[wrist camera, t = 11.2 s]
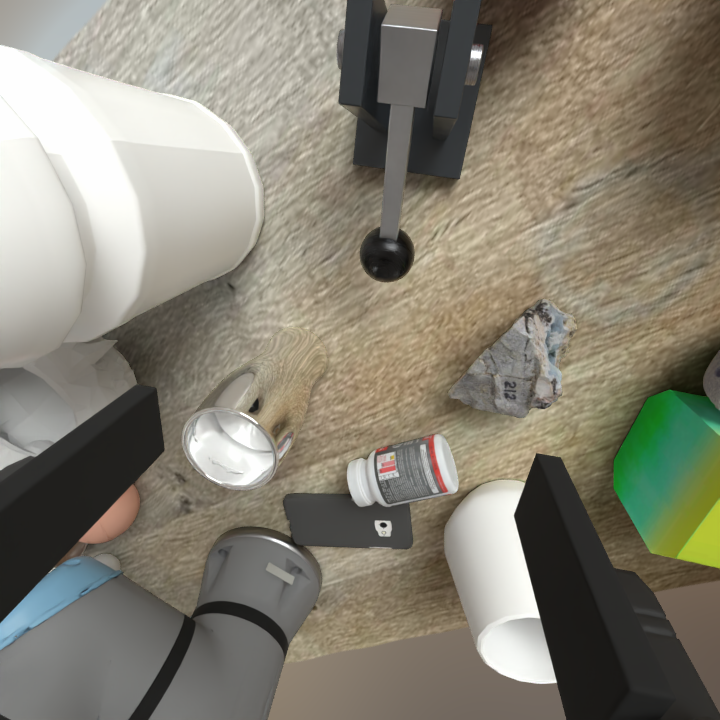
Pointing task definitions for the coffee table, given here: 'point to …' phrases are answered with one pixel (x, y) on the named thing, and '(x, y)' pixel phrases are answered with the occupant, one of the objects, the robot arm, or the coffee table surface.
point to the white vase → (497, 583)
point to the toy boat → (713, 381)
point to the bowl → (58, 395)
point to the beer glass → (255, 412)
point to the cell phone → (347, 522)
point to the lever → (400, 128)
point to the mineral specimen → (520, 364)
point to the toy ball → (115, 518)
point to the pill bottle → (404, 473)
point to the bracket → (446, 97)
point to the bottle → (109, 203)
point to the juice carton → (674, 477)
